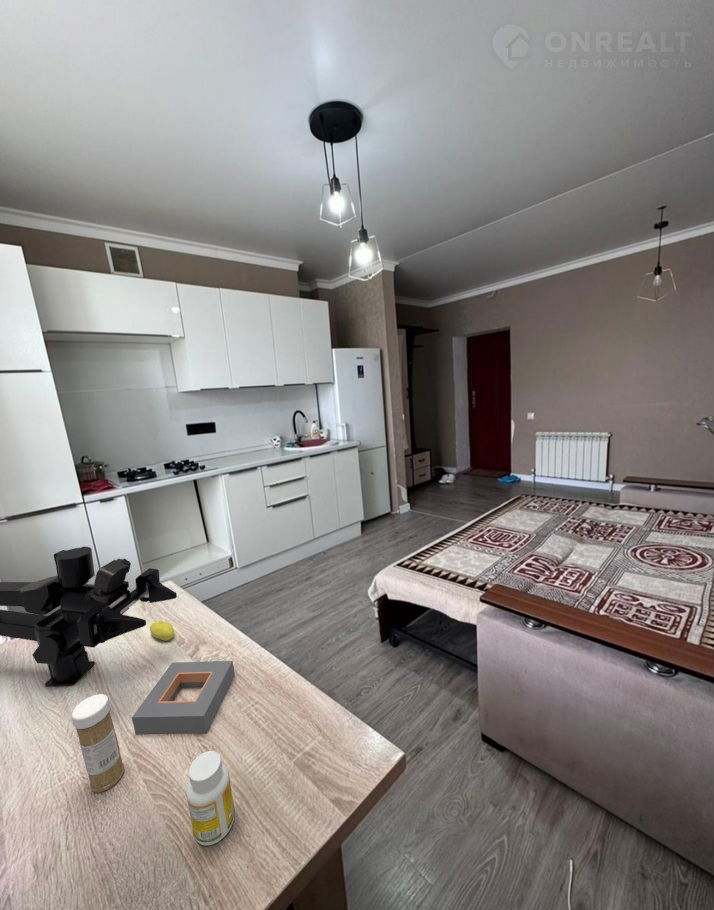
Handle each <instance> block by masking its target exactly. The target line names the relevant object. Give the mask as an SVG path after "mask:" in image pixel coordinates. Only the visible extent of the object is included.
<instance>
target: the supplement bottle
mask: <svg viewBox="0 0 714 910" xmlns="http://www.w3.org/2000/svg"><path fill="white" fill-rule="evenodd" d="M188 775H189V777H188V778H189V780H188V783H187V786H186V791H185V792H186V793H185V794H186V799H187V805H188V810H189V811H188V812H189V816H190V821H191V828H192V834H193V837H194V839H195V841H196V842H197V843H198V844H200V845H201V846H212V845H215V844H217V843H218V842H220V841H221V840H222V839H223V838H225V836H227V834H228V833H229V831H230V830H231V828H232V826H233V823H234V820H235V815H236V814H235V811H236V810H235V804H234V799H233V798H234V797H233V793H232V792H233V791H232V784H231V779H230V772H229V769H228V768H227V766H226V765H225V764H224V763H223V761H222V758H221V755H220V753H219V752H217V751H215V750H210V751H209V750H208V751H205V752H202V753H201V754H199V755H198V756H197V757H196V758H194V760H193V761H192V762H191V764H190V766H189V770H188Z"/></svg>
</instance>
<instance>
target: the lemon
mask: <svg viewBox="0 0 714 910" xmlns="http://www.w3.org/2000/svg"><path fill="white" fill-rule="evenodd" d="M149 630H150V634H151V636H152V637H154V638H156V639H158V640H162V641H170V640H172V638H173V637H174V635H175V630H174V626H173V624H172V623H170V622H168V621H163V620H156V621H154V622H152V623H151V624H150V627H149Z"/></svg>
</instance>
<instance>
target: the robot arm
mask: <svg viewBox="0 0 714 910" xmlns="http://www.w3.org/2000/svg"><path fill="white" fill-rule="evenodd" d="M53 559H54V563H55V567H56V575H54V576H48V577H46V578H42V579H41V580H37V581H29V582H28V581H0V607H22V608H23V609H24V610H25V612H22V611H21V612H20V611H15V610H8V609H7V610H6V609H0V637H5V638H6V637H7V638H14V639H19V640H27V641H33V642H36V643H37V647H36V649H35V650H34V652H33V653H32V657H33V659H34V660H35V662H36V663H37V664H46V665H47V667H48V671H49V676H50V678H49V679H48V680H47V681H45V683H44V686H45V687H57V686H58V687H59V686H60V687H61V686H63V687H65V686H66V687H67V686H74V685H75V684H76V683H77V682H78V681H79V680H80V679H81V678H82V677H83V676H84V675H85V674H86V673H88V671H89V670H90V669H91V668H92V667H93V666H94V665H95V664H96V662H95V660H90V659H89V654H88V651H87V650H86V648H92V649H94V648H96V647H97V646H98V645H99V644H104V643H105V642H107V641H109V640H112V639H114V638H117V637H119V636H121V635H125V634H126V633H130V632H132V631H135V630H138V629H140V628H143V627H145V626H146V625H147V620H146V619H144V618H140V617H136V616H131V615H127V614H126V615H125V614H124V613H126V612H127V611H129V609H130V608H131V607H132V606H133V605H134V604H136V603H137V602H139V601H140V602H142V603H147V602H149V604H152V603H158V602H164V601H171V600H174V599H176V598H177V597H178V595H177V592H176V591H174V590H172V589H171V588H168V587H167V586H166V585H165V584H163V583H161V581H160V570H159V569H157V568H148V569H146V570H145V571H144V572H141V574H139V575H138V576H137V577H136V578H135V588H134V589H133V590H132V591H131V590H129V589H128V588H130V584H129V583H130V582H129V581H125V580H126V577H127V574H129V572H130V570H131V567H132V564H131V561H129V560H127V559H126V558H116V559H113V560H111V561H110V562H108V563H106V564H105V565H103V566H101V567H100V568H99V569H98V570H97V571H95V565H94V558H93V551H92V548H91V547H89V546H84V545H83V546H80V547H75V548H74V547H73V548H70V549H67V550H66V549H61V550H59V551H58V552H55V553H54V554H53ZM95 572H96V574H95ZM93 577H95V579H94V584H92V583H91V584H90V583H89V581H90V580H91V579H92V578H93ZM58 607H60V608H58ZM56 608H58V609H56ZM55 609H56V610H55ZM54 610H55V611H54ZM50 612H51V613H50ZM49 613H50V614H49ZM47 614H48V615H47ZM85 647H86V648H85Z"/></svg>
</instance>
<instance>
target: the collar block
mask: <svg viewBox="0 0 714 910" xmlns="http://www.w3.org/2000/svg"><path fill="white" fill-rule="evenodd" d="M235 676H236V673H235V667H234V662H233V660H216V661H214V660H213V661H212V660H211V661H209V660H208V661H178V662H177V661H176V662H174V661H173V662H171V664H170V665H169V666H168V668H167V669H166V670H165V672H164V673H163V674H162V676H161V677H160V678H159V680H158V681H156V682H157V683H156V684H155V685H154V687H153V688H152V689H151V690H150V692H149V693H148V695H147V696H146V697H145V699H144V700H143V702H142V703H141V704H140V705H139V706H138V708H137V710H136V711H135V712H134V714H133V715H132V716H131V719H132V725H133V728H134V735H159V734H160V735H163V734H166V735H168V734H169V735H170V734H171V735H172V734H175V735H176V734H177V735H178V734H208V732H209V729H210V727H211V725H212V723H213V721H214V719H215V717H216V715H217V713H218V711H219V709H220V708H221V705H222V703H223V701H224V699H225V696H226V695H227V692H228V691H229V689H230V687H231V685H232V683H233V681H234V679H233V678H235ZM185 688H186V689H187V688H189V689H190V688H193V689H194V688H201V689H200V691H199V692H198V694H197V696H196V697H195V700H174V699H175V698H176V697H177V695H178V693H179V692H180V690H181V689H185Z"/></svg>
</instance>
